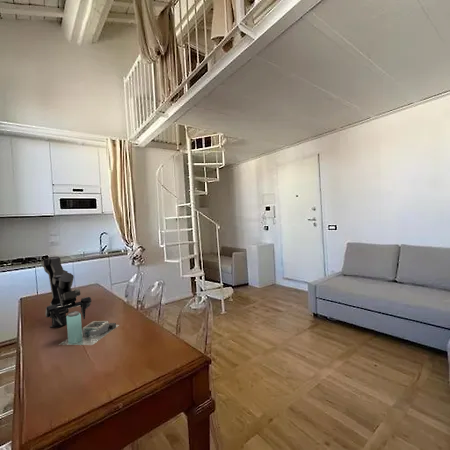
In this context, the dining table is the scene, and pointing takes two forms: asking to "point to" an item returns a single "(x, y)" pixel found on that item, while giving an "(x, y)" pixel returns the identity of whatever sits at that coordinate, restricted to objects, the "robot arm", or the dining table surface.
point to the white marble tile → (93, 332)
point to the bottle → (74, 327)
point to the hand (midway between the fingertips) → (73, 321)
